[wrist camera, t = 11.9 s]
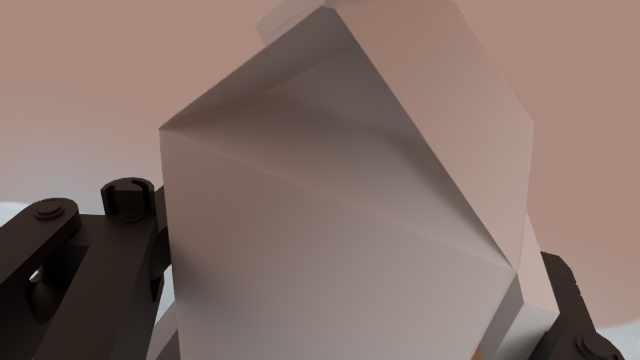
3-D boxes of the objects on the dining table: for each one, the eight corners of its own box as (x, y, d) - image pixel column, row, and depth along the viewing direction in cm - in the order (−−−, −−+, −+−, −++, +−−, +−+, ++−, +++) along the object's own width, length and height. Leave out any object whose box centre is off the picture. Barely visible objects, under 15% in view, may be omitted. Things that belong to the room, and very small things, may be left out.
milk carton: (409, 409, 19) (607, -37, 9) (350, 592, 13) (695, -50, 4) (284, 339, 21) (333, -73, 12) (189, 469, 16) (128, -115, 6)
